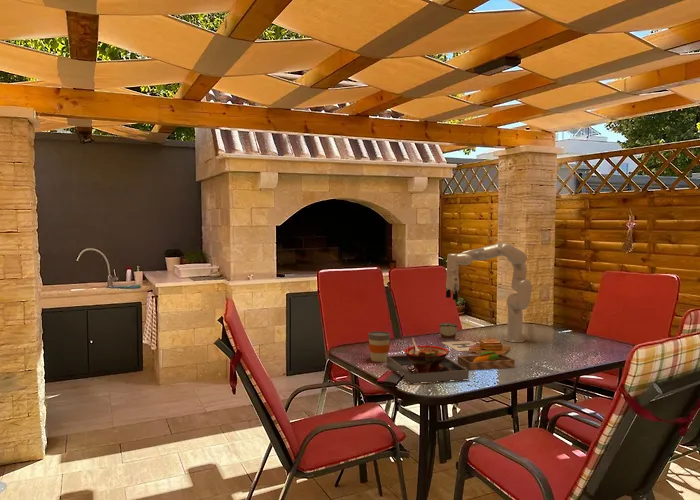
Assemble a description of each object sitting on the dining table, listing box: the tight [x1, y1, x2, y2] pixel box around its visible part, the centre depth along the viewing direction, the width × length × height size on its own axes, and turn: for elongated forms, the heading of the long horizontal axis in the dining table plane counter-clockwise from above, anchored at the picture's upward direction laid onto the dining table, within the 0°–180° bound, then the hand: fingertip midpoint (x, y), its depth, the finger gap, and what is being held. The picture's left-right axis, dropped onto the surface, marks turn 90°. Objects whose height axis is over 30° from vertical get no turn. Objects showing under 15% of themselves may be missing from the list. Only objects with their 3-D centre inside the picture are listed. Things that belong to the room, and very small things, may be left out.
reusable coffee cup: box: [367, 330, 391, 363], centre depth 305 cm, size 13×13×15 cm
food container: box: [438, 322, 458, 340], centre depth 364 cm, size 12×6×10 cm, turn 84°
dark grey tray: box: [386, 354, 470, 384], centre depth 280 cm, size 31×35×5 cm
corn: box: [473, 350, 499, 362], centre depth 295 cm, size 7×8×20 cm
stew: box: [403, 336, 451, 373], centre depth 281 cm, size 28×24×16 cm
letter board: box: [441, 340, 476, 353], centre depth 341 cm, size 20×24×1 cm
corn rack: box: [457, 353, 516, 371], centre depth 296 cm, size 27×14×4 cm, turn 105°
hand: (451, 298), depth 350 cm, fingers open, 9 cm apart
